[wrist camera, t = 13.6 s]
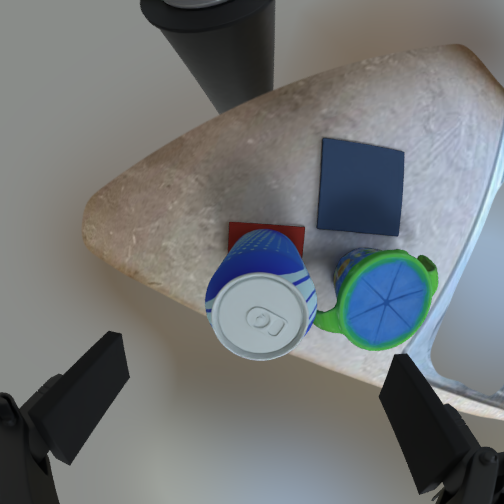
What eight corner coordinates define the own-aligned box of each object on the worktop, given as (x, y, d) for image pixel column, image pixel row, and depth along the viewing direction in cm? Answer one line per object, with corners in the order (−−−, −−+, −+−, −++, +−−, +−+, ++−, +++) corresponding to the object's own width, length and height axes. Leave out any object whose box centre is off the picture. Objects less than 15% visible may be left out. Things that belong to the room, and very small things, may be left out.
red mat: (229, 221, 34) (229, 222, 33) (304, 227, 33) (305, 227, 32) (227, 292, 35) (226, 293, 35) (297, 297, 35) (297, 299, 34)
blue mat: (322, 138, 31) (323, 137, 30) (402, 152, 30) (404, 151, 30) (316, 228, 33) (317, 228, 32) (396, 235, 32) (398, 236, 32)
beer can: (244, 303, 35) (226, 381, 19) (219, 241, 33) (177, 283, 18) (308, 281, 34) (335, 350, 18) (285, 217, 32) (300, 239, 17)
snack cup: (308, 325, 36) (319, 368, 26) (293, 249, 34) (303, 272, 24) (412, 297, 34) (449, 328, 24) (407, 224, 32) (450, 236, 22)
